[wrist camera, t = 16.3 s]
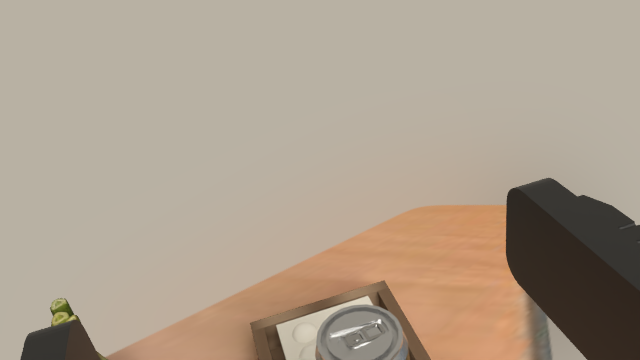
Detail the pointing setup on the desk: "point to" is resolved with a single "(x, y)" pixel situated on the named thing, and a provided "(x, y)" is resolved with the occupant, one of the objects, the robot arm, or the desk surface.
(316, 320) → the egg carton
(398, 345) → the beer can
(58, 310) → the fennel bulb
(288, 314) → the crate
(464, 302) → the desk surface
